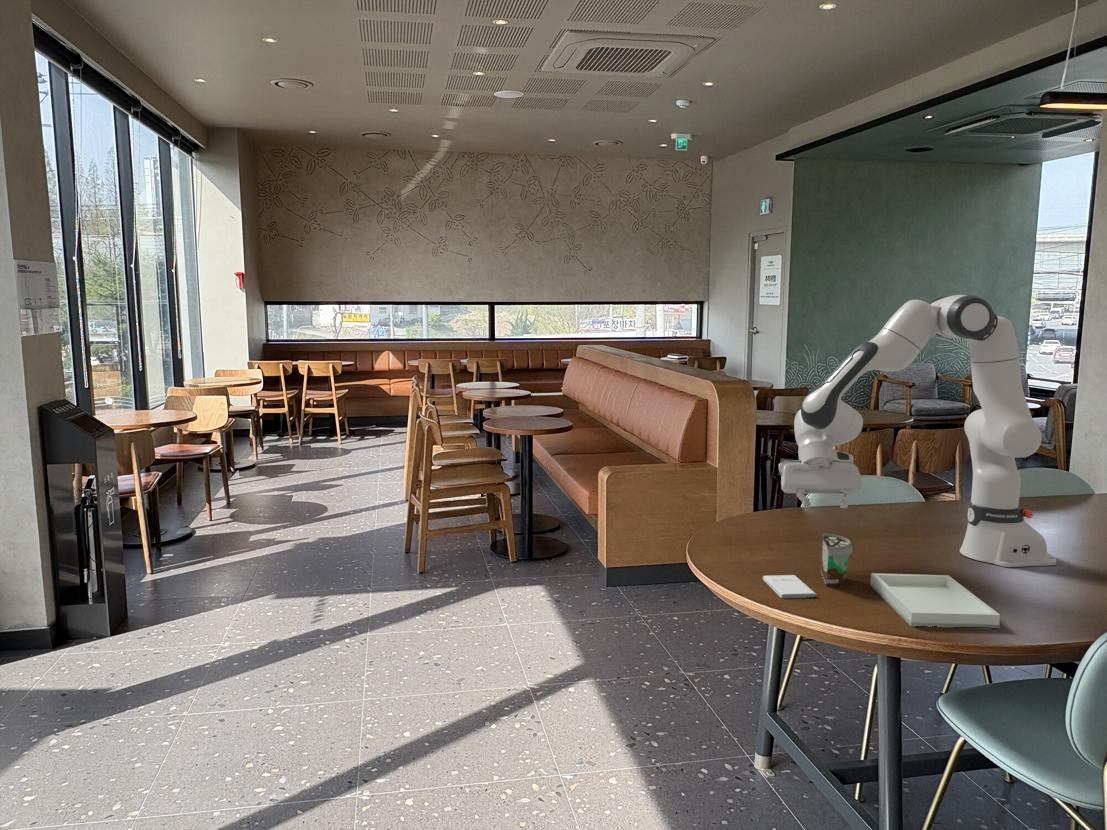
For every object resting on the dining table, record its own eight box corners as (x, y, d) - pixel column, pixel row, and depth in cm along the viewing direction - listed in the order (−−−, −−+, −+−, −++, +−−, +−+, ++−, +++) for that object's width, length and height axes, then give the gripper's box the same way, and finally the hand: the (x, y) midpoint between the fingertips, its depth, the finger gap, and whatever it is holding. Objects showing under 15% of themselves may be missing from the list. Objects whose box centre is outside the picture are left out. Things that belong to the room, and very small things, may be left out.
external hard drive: (781, 601, 181) (762, 581, 194) (816, 600, 182) (795, 580, 194) (781, 594, 181) (762, 575, 193) (816, 593, 182) (795, 574, 194)
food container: (854, 590, 187) (857, 549, 185) (826, 588, 188) (829, 547, 186) (846, 573, 199) (848, 534, 197) (820, 571, 200) (822, 532, 198)
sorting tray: (947, 587, 189) (948, 575, 189) (998, 628, 166) (1000, 614, 165) (870, 585, 190) (871, 573, 190) (910, 626, 166) (911, 612, 166)
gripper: (779, 453, 209) (787, 499, 201) (858, 455, 208) (869, 501, 200) (775, 466, 214) (781, 511, 206) (852, 468, 213) (862, 513, 205)
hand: (825, 506), depth 203 cm, fingers open, 8 cm apart
